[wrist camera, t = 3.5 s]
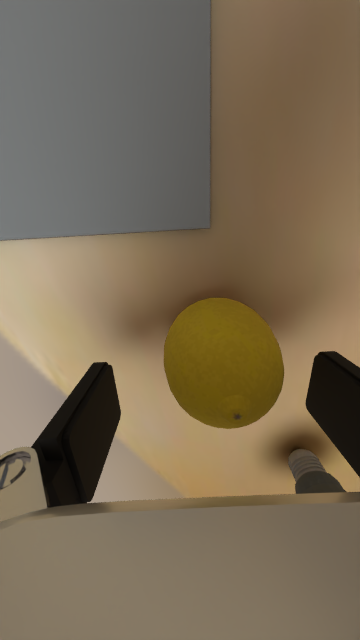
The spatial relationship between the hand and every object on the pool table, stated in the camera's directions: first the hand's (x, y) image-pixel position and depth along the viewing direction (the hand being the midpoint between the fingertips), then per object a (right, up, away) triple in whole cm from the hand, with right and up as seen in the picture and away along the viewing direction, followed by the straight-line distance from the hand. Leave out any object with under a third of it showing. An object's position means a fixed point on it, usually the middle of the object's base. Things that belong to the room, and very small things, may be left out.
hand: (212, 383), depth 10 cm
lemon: (+1, +3, +5) cm, 6 cm away
